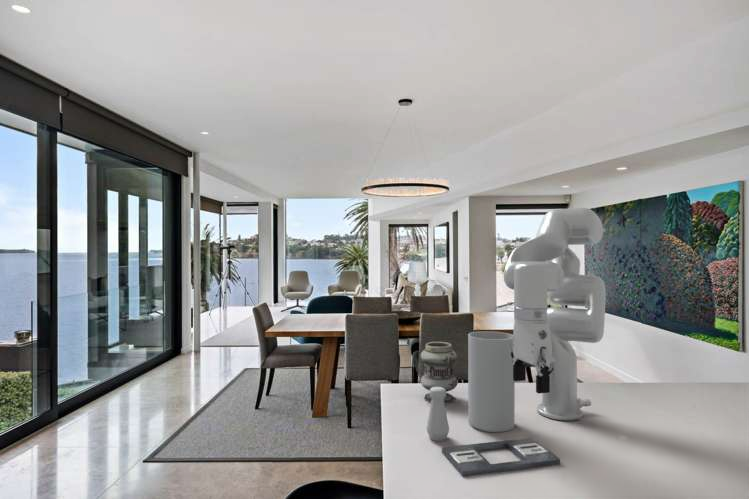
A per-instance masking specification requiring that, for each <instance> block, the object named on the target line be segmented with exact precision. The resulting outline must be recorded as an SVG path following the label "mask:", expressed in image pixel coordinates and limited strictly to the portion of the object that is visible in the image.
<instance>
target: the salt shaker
mask: <svg viewBox="0 0 749 499" xmlns="http://www.w3.org/2000/svg"><path fill="white" fill-rule="evenodd" d="M429 393H430V397H431V398H432V400H431V402H430V405H429V406H430V407H429V412H428V418H427V425H426V432H427V434H428V437H429V438H430V440H432V441H434V442H442V441H446V440H447V437H448V435H449V431H450V426H449V420H448V415H447V410H446V405H445V404H446V403H444V398H445V397H446V393H447V392H446V390H445V389H444V388H442V387H432V388H431V389H430V391H429Z"/></svg>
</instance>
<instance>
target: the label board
mask: <svg viewBox="0 0 749 499" xmlns="http://www.w3.org/2000/svg"><path fill="white" fill-rule="evenodd" d="M501 449H502V450H503V449H507V450H508V451H510V453H511V454H513V455H514V456H516V457H517V458H518V459H519V460H515V461H507V462H497V463H491V462H489V461H488V459H486V457H485V456H483V455H482V454H481V453H480V452H484V451H492V450H501ZM441 454H442V455H444V457H445V458H446V459H447V460H448V461H449V463H450V464H451V465H452V467H454V469H456V471H457V472H458V474H460V476H461V477H462V478H463V477H473V476H481V475H487V474H489V475H490V474H495V473H502V472H503V473H504V472H511V471H520V470H529V469H535V468H536V469H537V468H541V467H542V468H543V467H549V466H559V465H561V458H560V457H558V456H556V455H555V454H554V453H552V452H551V451H549V450H548V449H547V448H546V447H544V446H542V445H541V444H540V443H539V442H538V441H536V440H534V439H533V438H531V437H525V438H517V439H515V438H513V439H508V440H498V441H497V440H496V441H490V442H489V441H488V442H480V443H479V442H478V443H470V444H462V445H453V446H452V445H451V446H444V447H443V446H442V447H441Z"/></svg>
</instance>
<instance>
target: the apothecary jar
mask: <svg viewBox="0 0 749 499" xmlns="http://www.w3.org/2000/svg"><path fill="white" fill-rule="evenodd" d="M420 358H421V361H423V362H424V364H423V365H424V373H423V374H424V375H422V376H421V379H420V384H421V386H422V387H423V388H424V389H425V390H428V391H429V392H428V393H426V394H425V395H424V397H423V398H424V400H425V401H427V402H429V403H431V400H432V398H431V397H430V389H431V388H432V387H442V388H444V389H445V390H446V397H445V398H444V404H449V403H452V402H453V401H455V397H454V395H452V394H451V393H449V392H450V391H453V390H454V389H456V387H457V386H458V382H459V381H458V378H457V376H456V375H454V372H455V371H454V362H456V361H457V358H458V355H457V353H456V351H455V350H454V349H453V346H452V343H450V342H445V341H444V342H443V341H430V342H427V343H426V344H425V348H424V350H422V351H421V353H420Z"/></svg>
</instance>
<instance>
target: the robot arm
mask: <svg viewBox="0 0 749 499" xmlns="http://www.w3.org/2000/svg"><path fill="white" fill-rule="evenodd" d="M601 220H602V219H600V217H599V216H598V215H597V213H596V212H595V211H593V210H592V209H591V208H587V207H575V208H574V207H572V208H571V207H570V208H555V209H552V210H549V211H547V212H546V213H545V214H544V216H543V218H542V221H541V222H540V225H539V228H538V230H537V232H536V235H535V236H534V237H532V238H530V239H528V240H526V241H525V242H523V243H521V244H520V245H518V246H516V247H515V248H514V249H513V250H512V252H511V253H510V255H509V257H508V258H507V261H506V263H505V266H504V271H503V281H504V284H505V285H506V287H507V288H508V289H510V290H513V294H514V295H513V296H514V297H513V301H514V302H513V310H514V311H513V316H514V317H513V318H514V319H513V320H514V322H513V332H512V335H513V342H512V343H511V344H510V345H509V346H510V350H511V357H512V364H515V365H513V380H514V381H515V382H522V381H524V382H525V381H526V377H527V376H526V375H527V374H526V373H527V371H526V370H527V369H526V368H527V366H526V364H528V365H531V366H534V368H535V371H536V373H537V375H536V374H535V393H537V394H542V402H541V403H540V404H538V405H537V406H536V412H537V413H538V414H540V415H542V416H543V417H546V418H548V419H552V420H557V421H565V422H566V421H567V422H568V421H577V420H580V419H582V418H583V417H584V416H583V415H584V414H583V411H582V410H581V409H582V408H583V407H590V406H592V401H591V400H590V399H582V398H580V397H578V364H577V363H578V357H577V353H576V351H575V349H574V348H573V346H572V344H570V342H578V343H579V342H580V343H587V344H588V343H589V344H590V343H591V344H595V343H599V342H601V340H602V339H603V337H604V332H605V321H606V320H605V317H606V316H605V315H606V302H607V301H606V300H607V299H606V297H607V296H606V295H607V293H606V285H605V281H604V279H602V278H601V277H600V276H599V275H593V274H580V273H581V272H580V269H581V261H580V259H579V256H577V255H576V253H575V252H574V251H573V250H572V249H571V248H570V247H568V245H572V246H573V245H578V246H579V245H580V246H581V245H584V246H586V245H587V246H588V245H590V246H591V245H597V244H599V243H600V242H601V240H602V239H603V236H604V226H603V223H602V221H601ZM548 299H549V301H550V302H551V303H553V304H555V305H561V306H571V307H561V306H560V307H559V306H550V307H548ZM572 306H573V307H585V308H572ZM541 367H542V368H541Z"/></svg>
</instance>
